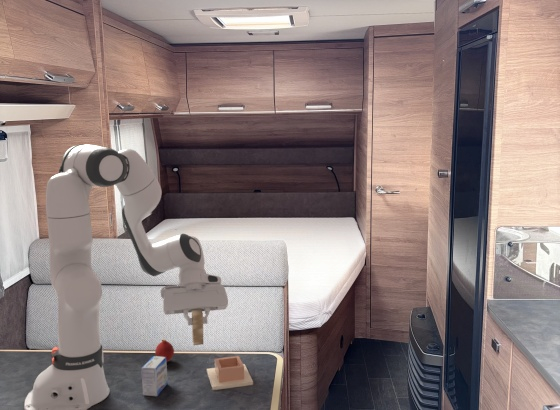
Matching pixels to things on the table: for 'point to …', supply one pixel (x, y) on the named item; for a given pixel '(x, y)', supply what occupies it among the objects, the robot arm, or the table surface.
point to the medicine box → (154, 376)
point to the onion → (165, 350)
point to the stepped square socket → (229, 373)
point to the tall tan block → (197, 327)
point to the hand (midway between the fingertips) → (197, 323)
